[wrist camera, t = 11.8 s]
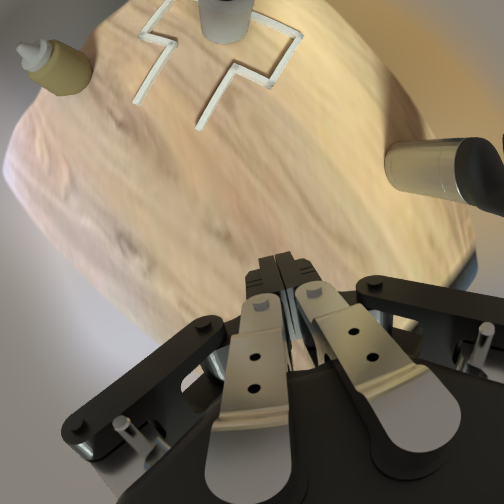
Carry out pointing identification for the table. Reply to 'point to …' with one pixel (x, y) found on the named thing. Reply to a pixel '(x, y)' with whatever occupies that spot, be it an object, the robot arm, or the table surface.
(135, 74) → the table surface
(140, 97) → the t outline
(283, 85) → the table surface
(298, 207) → the table surface
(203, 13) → the can
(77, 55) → the squeeze bottle
